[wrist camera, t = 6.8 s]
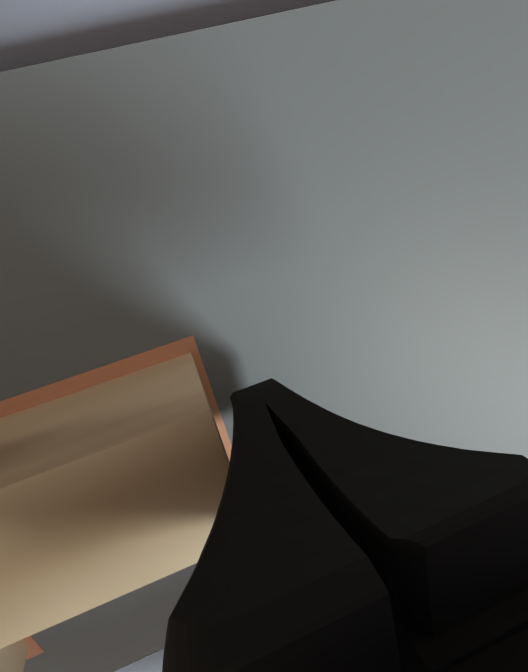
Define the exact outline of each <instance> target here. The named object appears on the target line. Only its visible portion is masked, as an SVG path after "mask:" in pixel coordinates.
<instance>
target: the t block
mask: <svg viewBox="0 0 528 672" xmlns="http://www.w3.org/2000/svg"><path fill="white" fill-rule="evenodd" d="M229 462H230V461H229V458H228V455H227V452H226V450H225V447H224V444H223V441H222V438H221V436H220V433H219V430H218V427H217V424H216V421H215V419H214V416H213V413H212V410H211V407H210V405H209V402H208V399H207V396H206V393H205V391H204V388H203V385H202V382H201V379H200V377H199V374H198V371H197V368H196V365H195V363H194V360H193V357H192V354H191V352H190V353H187V354H184V355H182V356H179V357H176V358H173V359H170V360H167V361H164V362H161V363H158V364H156V365H153V366H150V367H147V368H144V369H141V370H138V371H135V372H132V373H130V374H127V375H124V376H121V377H118V378H115V379H112V380H109V381H106V382H104V383H101V384H98V385H95V386H92V387H89V388H86V389H83V390H80V391H78V392H75V393H72V394H69V395H66V396H63V397H60V398H57V399H54V400H52V401H49V402H46V403H43V404H40V405H37V406H34V407H31V408H28V409H26V410H23V411H20V412H17V413H14V414H11V415H8V416H5V417H2V418H0V672H23V670H24V666H25V661H26V656H27V652H28V647H29V645H28V644H27V643H26V642H25V641H24V638H26V637H29V636H31V635H33V634H35V633H38V632H40V631H42V630H45V629H47V628H49V627H51V626H54V625H56V624H58V623H61V622H63V621H65V620H67V619H70V618H72V617H74V616H77V615H79V614H81V613H84V612H86V611H88V610H90V609H93V608H95V607H97V606H100V605H102V604H104V603H106V602H109V601H111V600H113V599H116V598H118V597H120V596H122V595H125V594H127V593H129V592H132V591H134V590H136V589H138V588H141V587H143V586H145V585H148V584H150V583H152V582H154V581H157V580H159V579H161V578H164V577H166V576H168V575H170V574H173V573H175V572H177V571H180V570H182V569H184V568H186V567H189V566H191V565H193V564H196V563H197V562H198V560H199V557H200V555H201V552H202V550H203V548H204V545H205V543H206V541H207V538H208V536H209V534H210V531H211V528H212V526H213V523H214V520H215V517H216V514H217V511H218V507H219V504H220V501H221V498H222V494H223V490H224V486H225V482H226V478H227V473H228V468H229Z"/></svg>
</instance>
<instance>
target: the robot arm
mask: <svg viewBox="0 0 528 672" xmlns="http://www.w3.org/2000/svg"><path fill="white" fill-rule="evenodd" d="M230 400H231V403H232V407H233V439H232V448H231V455H230V462H229V468H228V473H227V478H226V482H225V486H224V490H223V494H222V498H221V501H220V504H219V507H218V511H217V514H216V517H215V520H214V523H213V526H212V528H211V531H210V534H209V536H208V538H207V541H206V543H205V545H204V548H203V550H202V552H201V555H200V557H199V560H198V562H197V564H196V566H195V569H194V571H193V573H192V575H191V577H190V579H189V581H188V583H187V584H186V586H185V588H184V590H183V592H182V594H181V596H180V598H179V600H178V602H177V603H176V605H175V607H174V609H173V611H172V613H171V615H170V617H169V619H168V625H167V632H166V639H165V647H164V657H163V670H162V672H528V458H526V457H525V456H523V455H517V454H507V453H496V452H486V451H475V450H467V449H460V448H454V447H448V446H441V445H436V444H431V443H426V442H421V441H416V440H412V439H408V438H404V437H400V436H396V435H392V434H389V433H385V432H382V431H379V430H376V429H373V428H370V427H367V426H364V425H361V424H358V423H356V422H353V421H351V420H348V419H346V418H343V417H341V416H339V415H337V414H335V413H332V412H330V411H328V410H326V409H324V408H322V407H320V406H319V405H317V404H315V403H313V402H311V401H309V400H307V399H306V398H304V397H302V396H300V395H299V394H297V393H295V392H294V391H292V390H290V389H289V388H287V387H286V386H284V385H282V384H281V383H279V382H278V381H276V380H274V379H272V378H271V379H268V380H265V381H262V382H260V383H257V384H254V385H252V386H249V387H246V388H244V389H241V390H238V391H236V392H233V393H232V395H231V396H230Z"/></svg>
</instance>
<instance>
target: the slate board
mask: <svg viewBox="0 0 528 672" xmlns="http://www.w3.org/2000/svg"><path fill="white" fill-rule="evenodd" d="M190 352H191V354H192V357H193V360H194V363H195V365H196V368H197V371H198V374H199V377H200V379H201V382H202V385H203V388H204V391H205V393H206V396H207V399H208V402H209V405H210V407H211V410H212V413H213V416H214V419H215V421H216V424H217V427H218V430H219V433H220V436H221V438H222V441H223V444H224V447H225V450H226V452H227V455H228V458H229V461H230V455H231V448H232V439H233V407H232V403H231V400H230V396H231V395H232V393H233V392H236V391H238V390H241V389H244V388H246V387H249V386H252V385H254V384H257V383H260V382H262V381H265V380H268V379H271V378H272V379H274V380H276V381H278V382H279V383H281V384H282V385H284V386H286V387H287V388H289V389H290V390H292V391H294V392H295V393H297V394H299V395H300V396H302V397H304V398H306V399H307V400H309V401H311V402H313V403H315V404H317V405H319V406H320V407H322V408H324V409H326V410H328V411H330V412H332V413H335V414H337V415H339V416H341V417H343V418H346V419H348V420H351V421H353V422H356V423H358V424H361V425H364V426H367V427H370V428H373V429H376V430H379V431H382V432H385V433H389V434H392V435H396V436H400V437H404V438H408V439H412V440H416V441H421V442H426V443H431V444H436V445H441V446H448V447H454V448H460V449H467V450H475V451H486V452H496V453H507V454H517V455H523V456H525V457H526V458H528V0H335V1H331V2H326V3H321V4H317V5H312V6H307V7H302V8H298V9H293V10H288V11H284V12H279V13H274V14H270V15H265V16H260V17H255V18H251V19H246V20H241V21H237V22H232V23H227V24H223V25H218V26H213V27H209V28H204V29H199V30H194V31H190V32H185V33H180V34H176V35H171V36H166V37H162V38H157V39H152V40H148V41H143V42H138V43H133V44H129V45H124V46H119V47H115V48H110V49H105V50H101V51H96V52H91V53H87V54H82V55H77V56H72V57H68V58H63V59H58V60H54V61H49V62H44V63H40V64H35V65H30V66H25V67H21V68H16V69H11V70H7V71H2V72H0V418H2V417H5V416H8V415H11V414H14V413H17V412H20V411H23V410H26V409H28V408H31V407H34V406H37V405H40V404H43V403H46V402H49V401H52V400H54V399H57V398H60V397H63V396H66V395H69V394H72V393H75V392H78V391H80V390H83V389H86V388H89V387H92V386H95V385H98V384H101V383H104V382H106V381H109V380H112V379H115V378H118V377H121V376H124V375H127V374H130V373H132V372H135V371H138V370H141V369H144V368H147V367H150V366H153V365H156V364H158V363H161V362H164V361H167V360H170V359H173V358H176V357H179V356H182V355H184V354H187V353H190ZM196 564H197V563H196ZM196 564H193V565H191V566H189V567H186V568H184V569H182V570H180V571H177V572H175V573H173V574H170V575H168V576H166V577H164V578H161V579H159V580H157V581H154V582H152V583H150V584H148V585H145V586H143V587H141V588H138V589H136V590H134V591H132V592H129V593H127V594H125V595H122V596H120V597H118V598H116V599H113V600H111V601H109V602H106V603H104V604H102V605H100V606H97V607H95V608H93V609H90V610H88V611H86V612H84V613H81V614H79V615H77V616H74V617H72V618H70V619H67V620H65V621H63V622H61V623H58V624H56V625H54V626H51V627H49V628H47V629H45V630H42V631H40V632H38V633H35V634H33V635H31V636H29V637H26V638H24V641H25V642H26V643H27V644H28V645H29V647H28V652H27V656H26V661H25V666H24V670H23V672H114V671H116V670H118V669H120V668H122V667H124V666H127V665H129V664H131V663H133V662H135V661H137V660H139V659H141V658H144V657H146V656H148V655H150V654H152V653H154V652H156V651H158V650H161V649H163V648H164V647H165V639H166V632H167V625H168V619H169V617H170V615H171V613H172V611H173V609H174V607H175V605H176V603H177V602H178V600H179V598H180V596H181V594H182V592H183V590H184V588H185V586H186V584H187V583H188V581H189V579H190V577H191V575H192V573H193V571H194V569H195V566H196Z"/></svg>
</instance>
